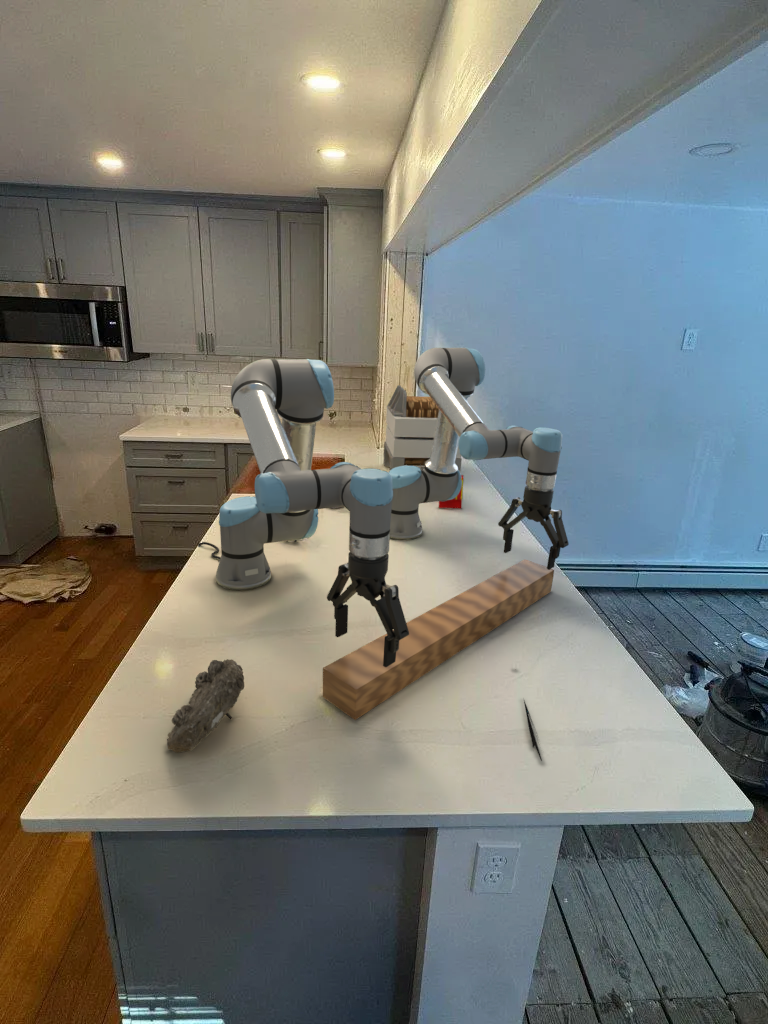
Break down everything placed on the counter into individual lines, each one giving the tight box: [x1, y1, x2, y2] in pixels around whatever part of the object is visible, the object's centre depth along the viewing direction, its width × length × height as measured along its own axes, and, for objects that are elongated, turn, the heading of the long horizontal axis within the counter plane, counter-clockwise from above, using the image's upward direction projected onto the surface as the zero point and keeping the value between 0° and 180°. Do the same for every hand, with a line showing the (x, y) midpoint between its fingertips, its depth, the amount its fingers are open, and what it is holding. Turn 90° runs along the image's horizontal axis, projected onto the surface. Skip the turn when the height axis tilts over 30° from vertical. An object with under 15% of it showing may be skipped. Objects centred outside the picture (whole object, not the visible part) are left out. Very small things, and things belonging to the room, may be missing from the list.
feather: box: [514, 668, 543, 762], centre depth 113 cm, size 2×28×2 cm
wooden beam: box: [322, 558, 555, 721], centre depth 138 cm, size 78×10×7 cm, turn 137°
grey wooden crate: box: [383, 384, 463, 474], centre depth 268 cm, size 34×33×41 cm
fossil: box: [166, 658, 245, 754], centre depth 106 cm, size 22×10×15 cm
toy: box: [438, 474, 465, 510], centre depth 239 cm, size 12×13×30 cm
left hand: (364, 648), depth 113 cm, fingers open, 13 cm apart
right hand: (528, 559), depth 158 cm, fingers open, 13 cm apart
